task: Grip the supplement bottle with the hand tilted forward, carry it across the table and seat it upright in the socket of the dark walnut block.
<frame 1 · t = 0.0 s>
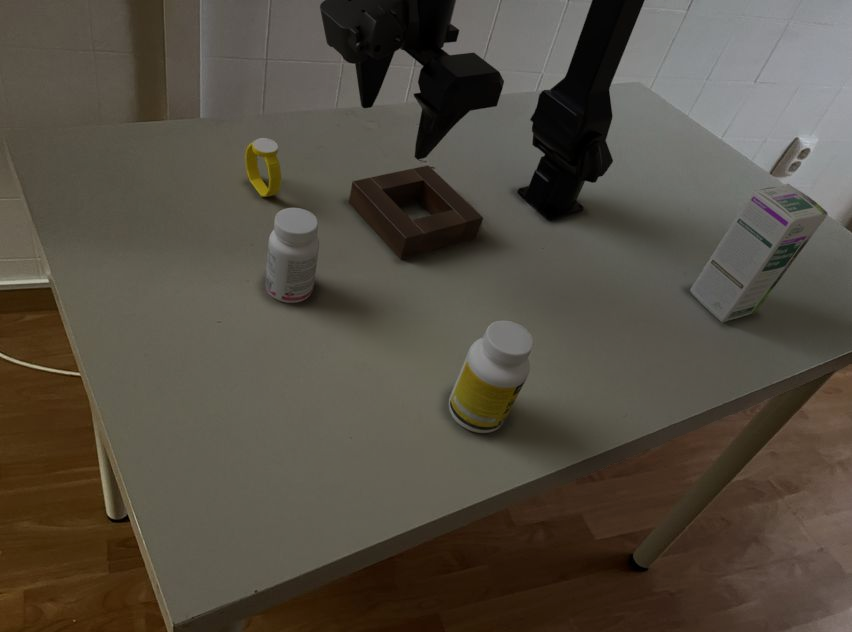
hand: (392, 131, 67), 15 cm above the table, tool pointing down, fingers open, 9 cm apart
pill bottle: (288, 289, 71), on the table
socket block: (412, 220, 83), on the table
watch: (261, 191, 82), on the table
supplement bottle: (475, 412, 65), on the table
syrup box: (719, 303, 84), on the table
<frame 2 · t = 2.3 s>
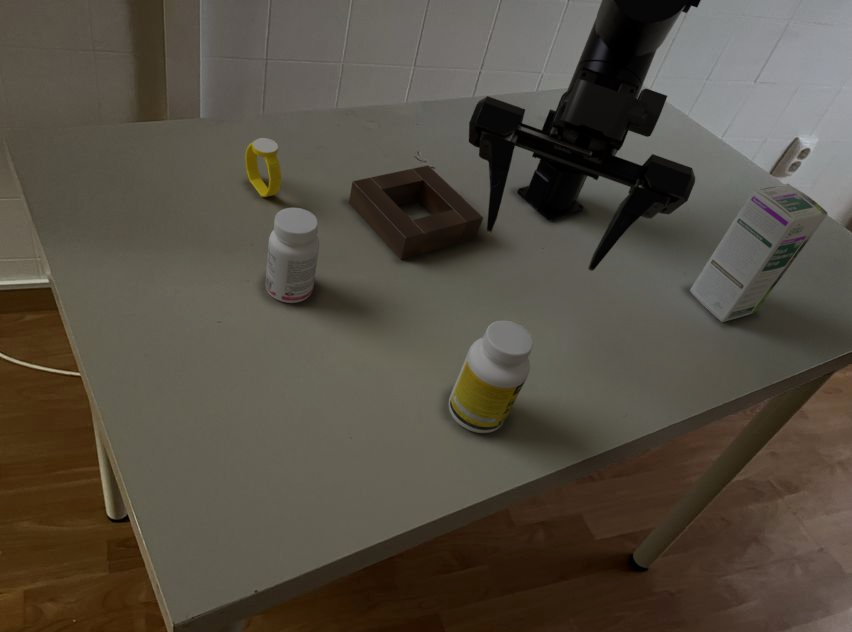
hand: (539, 250, 61), 13 cm above the table, tool tilted 45°, fingers open, 9 cm apart
nothing on the table moved.
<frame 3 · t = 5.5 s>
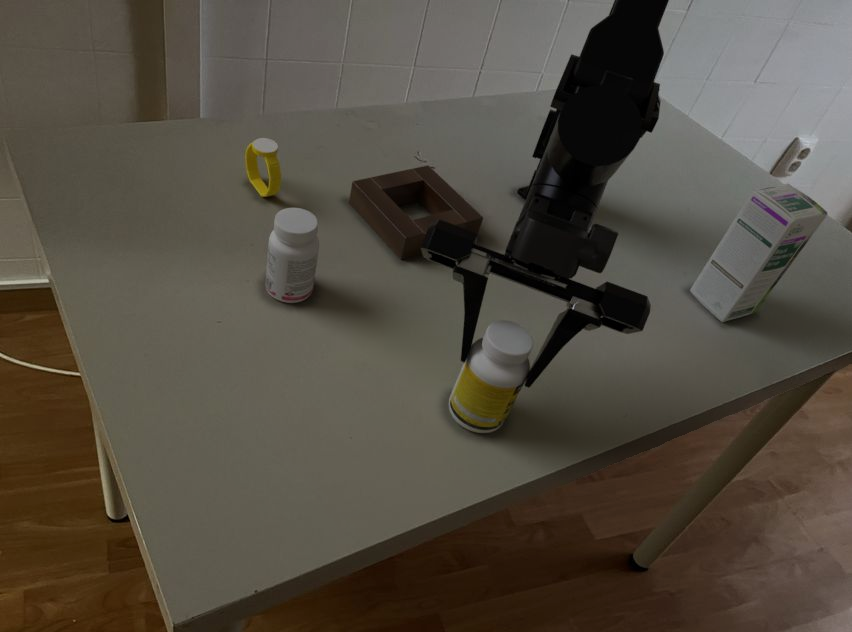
hand: (494, 374, 59), 7 cm above the table, tool tilted 45°, fingers closed on supplement bottle, 5 cm apart
supplement bottle: (475, 412, 65), on the table, touching gripper
everything else where it was.
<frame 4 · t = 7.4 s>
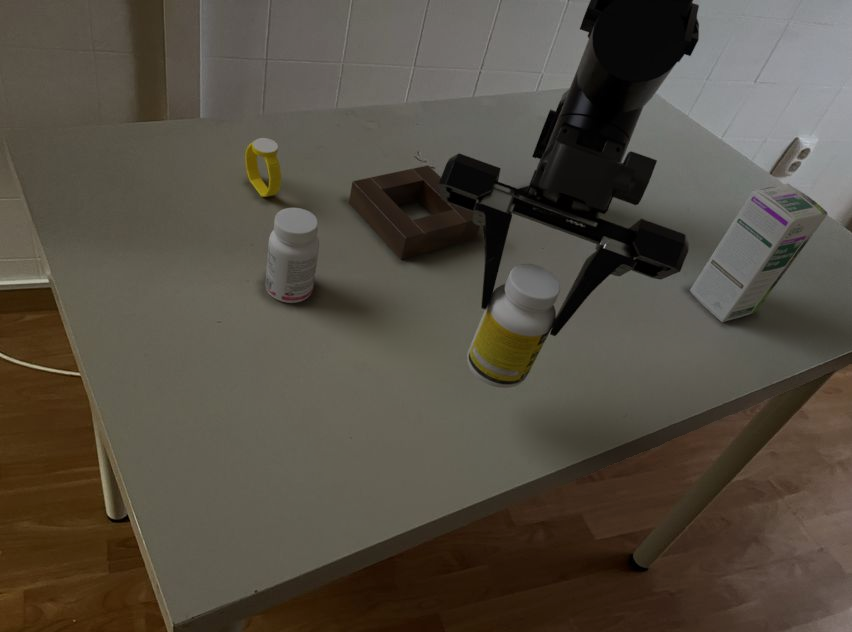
hand: (517, 321, 55), 13 cm above the table, tool tilted 45°, fingers closed on supplement bottle, 5 cm apart
supplement bottle: (495, 367, 61), point 6 cm above the table, touching gripper
everything else where it was.
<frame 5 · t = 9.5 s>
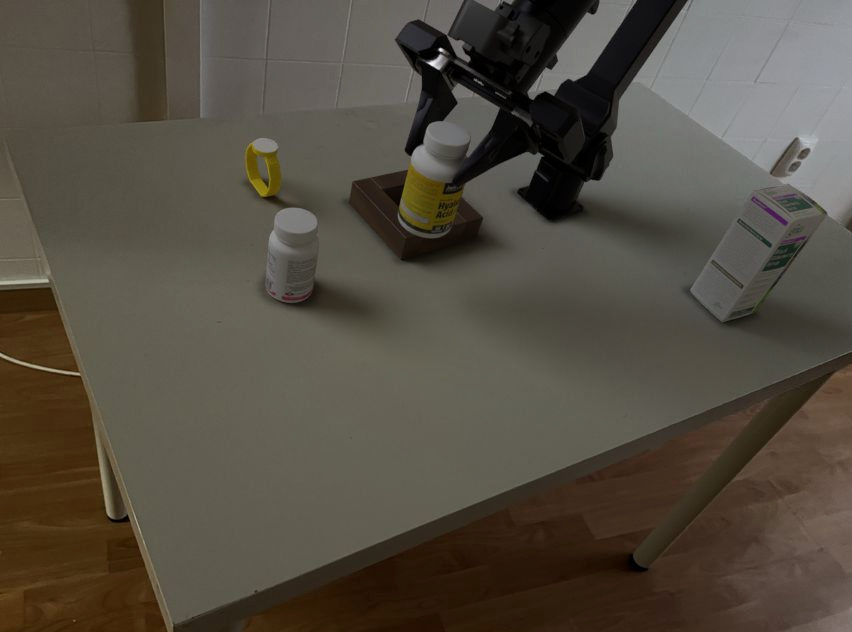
hand: (430, 169, 63), 15 cm above the table, tool tilted 45°, fingers closed on supplement bottle, 5 cm apart
supplement bottle: (424, 224, 69), point 8 cm above the table, touching gripper
everything else where it was.
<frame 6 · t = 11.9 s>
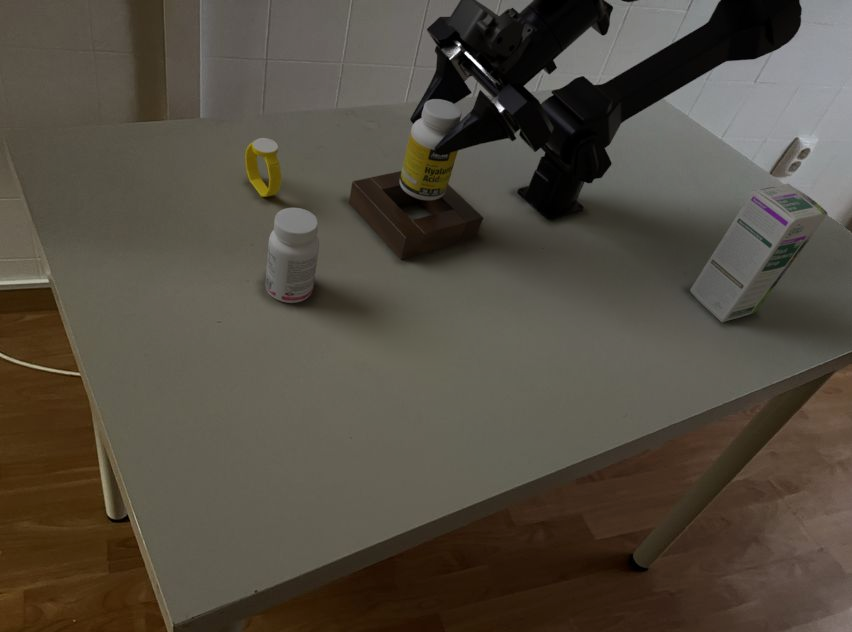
hand: (424, 137, 75), 11 cm above the table, tool tilted 45°, fingers closed on supplement bottle, 5 cm apart
supplement bottle: (422, 189, 80), point 4 cm above the table, touching gripper
everything else where it was.
when the fingers open (7 cm above the table, at t = 13.6 s): supplement bottle stays where it is, resting in socket block.
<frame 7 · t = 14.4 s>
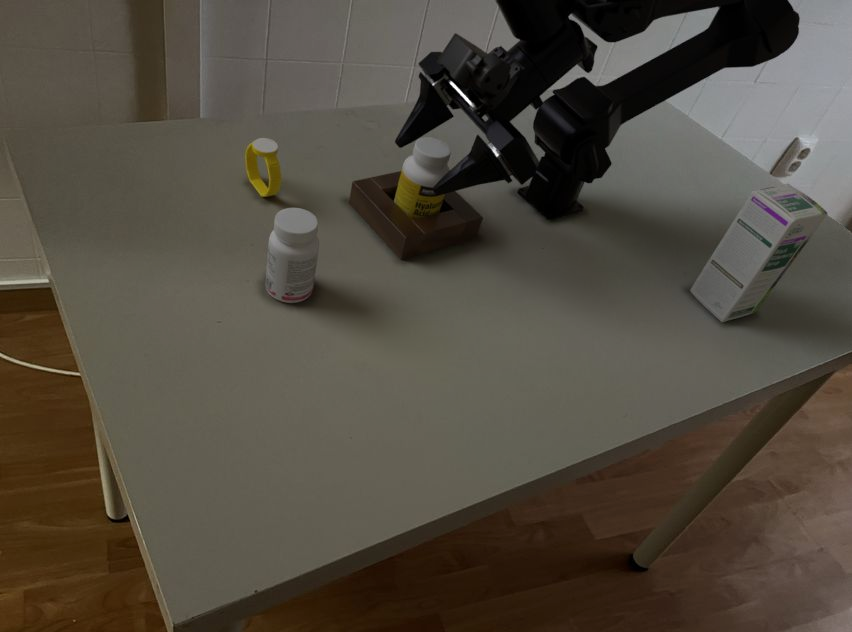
hand: (415, 168, 77), 7 cm above the table, tool tilted 45°, fingers open, 9 cm apart
supplement bottle: (412, 221, 83), resting in socket block
everything else where it was.
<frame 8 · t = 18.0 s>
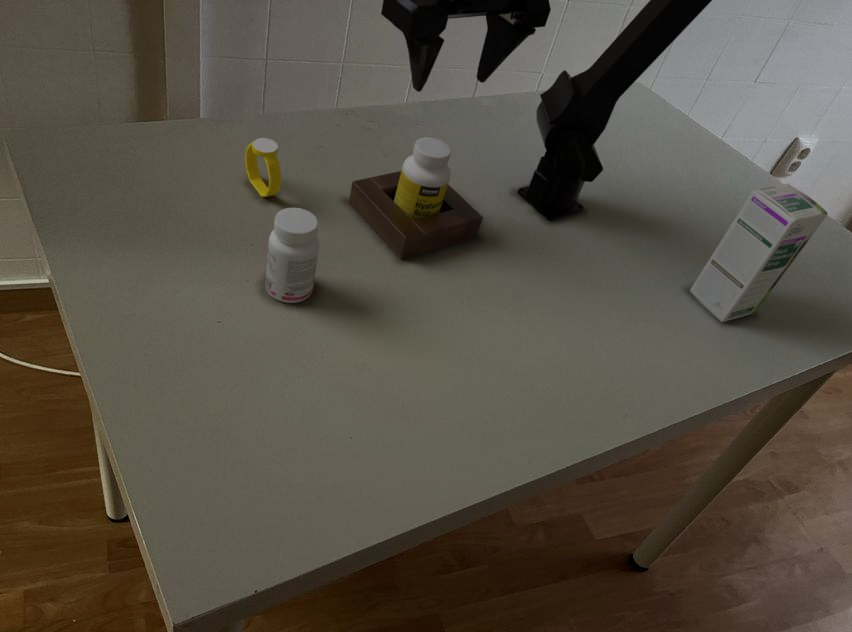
hand: (449, 85, 80), 13 cm above the table, tool pointing down, fingers open, 9 cm apart
nothing on the table moved.
at the end: supplement bottle 0.1 cm off-centre in the socket block, point 0.0 cm above the socket block's base; supplement bottle tilted 0°; the gripper is holding nothing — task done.
